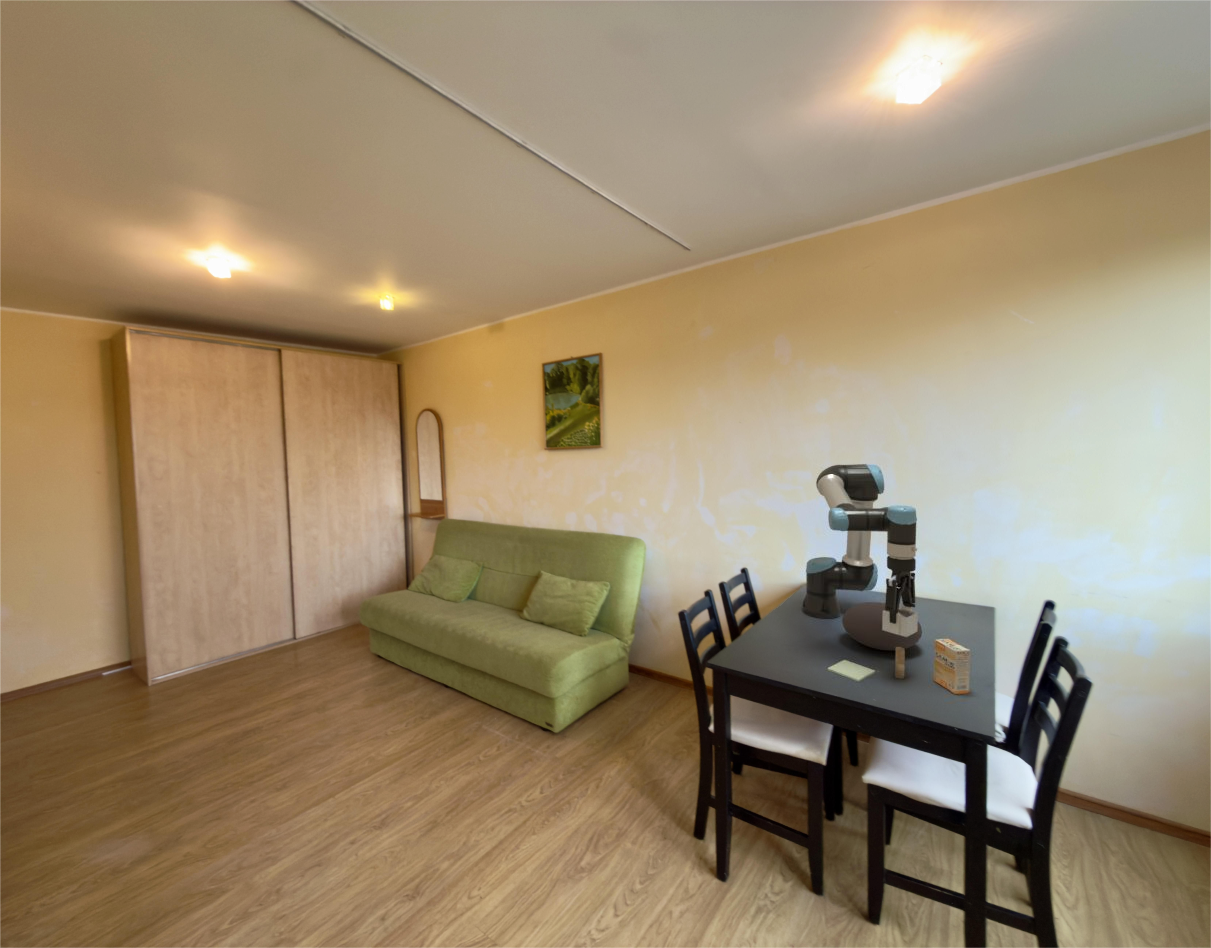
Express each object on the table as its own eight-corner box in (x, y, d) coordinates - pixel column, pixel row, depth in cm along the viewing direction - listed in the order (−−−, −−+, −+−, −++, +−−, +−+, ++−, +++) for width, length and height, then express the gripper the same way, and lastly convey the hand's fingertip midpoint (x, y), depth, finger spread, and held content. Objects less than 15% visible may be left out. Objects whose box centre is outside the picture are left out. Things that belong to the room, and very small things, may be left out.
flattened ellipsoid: (873, 664, 160) (874, 619, 159) (827, 635, 185) (827, 596, 184) (939, 657, 164) (940, 613, 163) (886, 629, 189) (886, 591, 188)
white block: (882, 629, 152) (882, 610, 151) (893, 624, 156) (893, 606, 155) (906, 636, 146) (906, 617, 146) (917, 631, 150) (917, 612, 150)
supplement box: (932, 681, 148) (933, 638, 148) (947, 680, 149) (948, 638, 148) (954, 694, 140) (955, 650, 139) (970, 693, 141) (971, 649, 140)
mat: (827, 669, 157) (827, 668, 157) (844, 661, 163) (844, 659, 163) (858, 681, 149) (858, 679, 149) (875, 672, 155) (875, 670, 155)
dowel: (893, 676, 152) (894, 648, 151) (897, 674, 153) (897, 646, 153) (902, 679, 150) (902, 650, 149) (905, 677, 151) (906, 648, 151)
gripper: (898, 564, 140) (897, 642, 142) (929, 553, 152) (928, 625, 153) (872, 559, 147) (871, 634, 148) (903, 549, 158) (902, 619, 159)
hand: (900, 629), depth 151 cm, fingers closed on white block, 7 cm apart
